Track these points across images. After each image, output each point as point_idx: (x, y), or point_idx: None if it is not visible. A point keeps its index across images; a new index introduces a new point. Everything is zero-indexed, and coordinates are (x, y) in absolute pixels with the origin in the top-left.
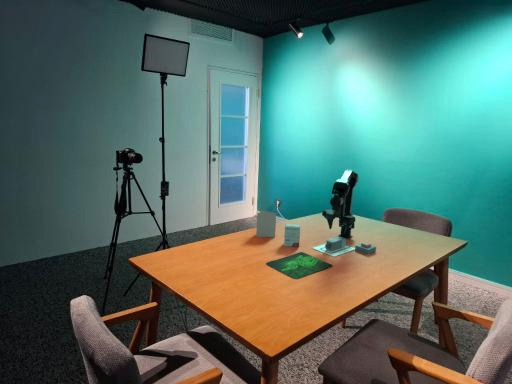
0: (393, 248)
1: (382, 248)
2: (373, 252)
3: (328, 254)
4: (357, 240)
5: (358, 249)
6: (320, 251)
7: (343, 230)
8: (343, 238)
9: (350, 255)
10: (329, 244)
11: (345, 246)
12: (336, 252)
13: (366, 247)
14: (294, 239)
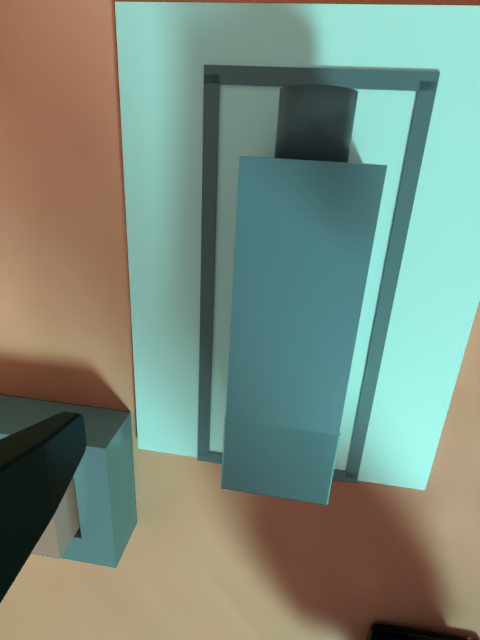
0: (10, 633)
1: (45, 593)
2: None
3: (216, 3)
4: (277, 635)
5: None
6: (374, 5)
7: (12, 448)
8: (244, 471)
9: (59, 250)
10: (294, 144)
11: None
12: (190, 173)
13: None
14: None
